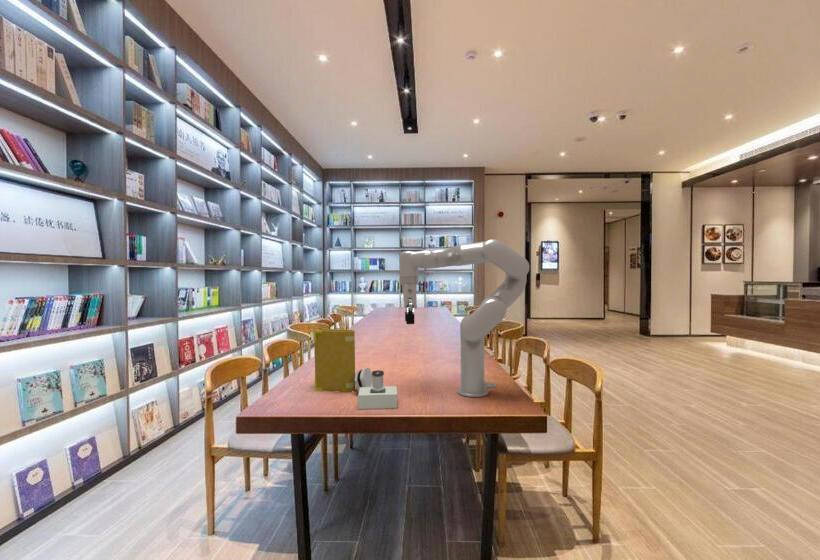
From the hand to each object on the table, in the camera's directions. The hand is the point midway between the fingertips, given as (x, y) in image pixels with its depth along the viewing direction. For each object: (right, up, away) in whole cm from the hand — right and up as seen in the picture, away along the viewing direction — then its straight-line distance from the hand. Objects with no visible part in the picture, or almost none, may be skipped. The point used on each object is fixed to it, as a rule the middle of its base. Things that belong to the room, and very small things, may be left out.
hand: (409, 322), depth 156 cm
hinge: (-18, -29, +2) cm, 34 cm away
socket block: (-12, -29, -15) cm, 35 cm away
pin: (-12, -29, -15) cm, 35 cm away
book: (-31, -29, +3) cm, 42 cm away
